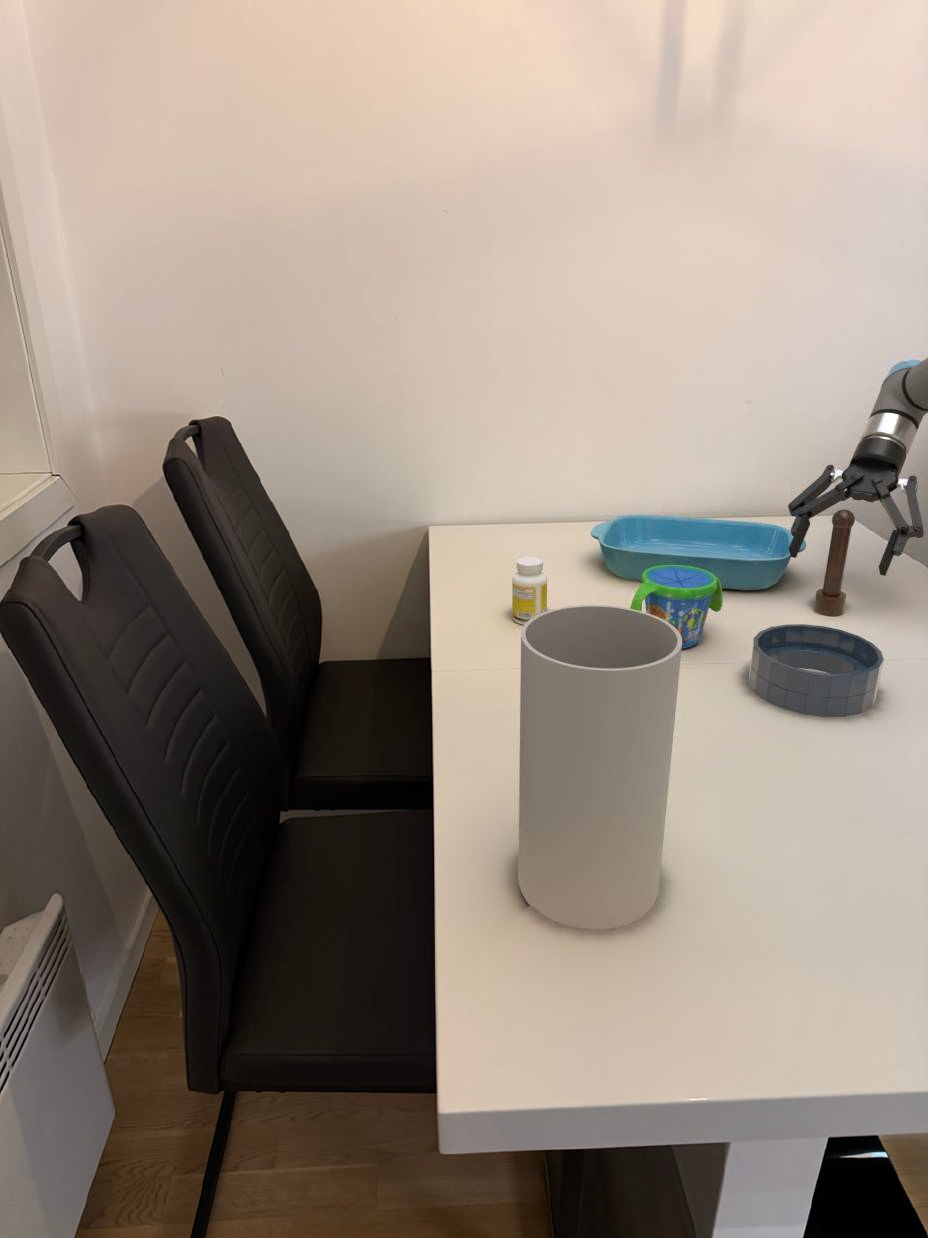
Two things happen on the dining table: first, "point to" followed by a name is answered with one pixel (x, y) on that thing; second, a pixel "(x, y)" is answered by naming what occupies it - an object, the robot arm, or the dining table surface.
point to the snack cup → (680, 598)
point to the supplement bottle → (528, 590)
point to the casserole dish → (697, 548)
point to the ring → (821, 649)
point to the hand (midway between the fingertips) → (835, 562)
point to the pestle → (835, 566)
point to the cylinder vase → (595, 761)
